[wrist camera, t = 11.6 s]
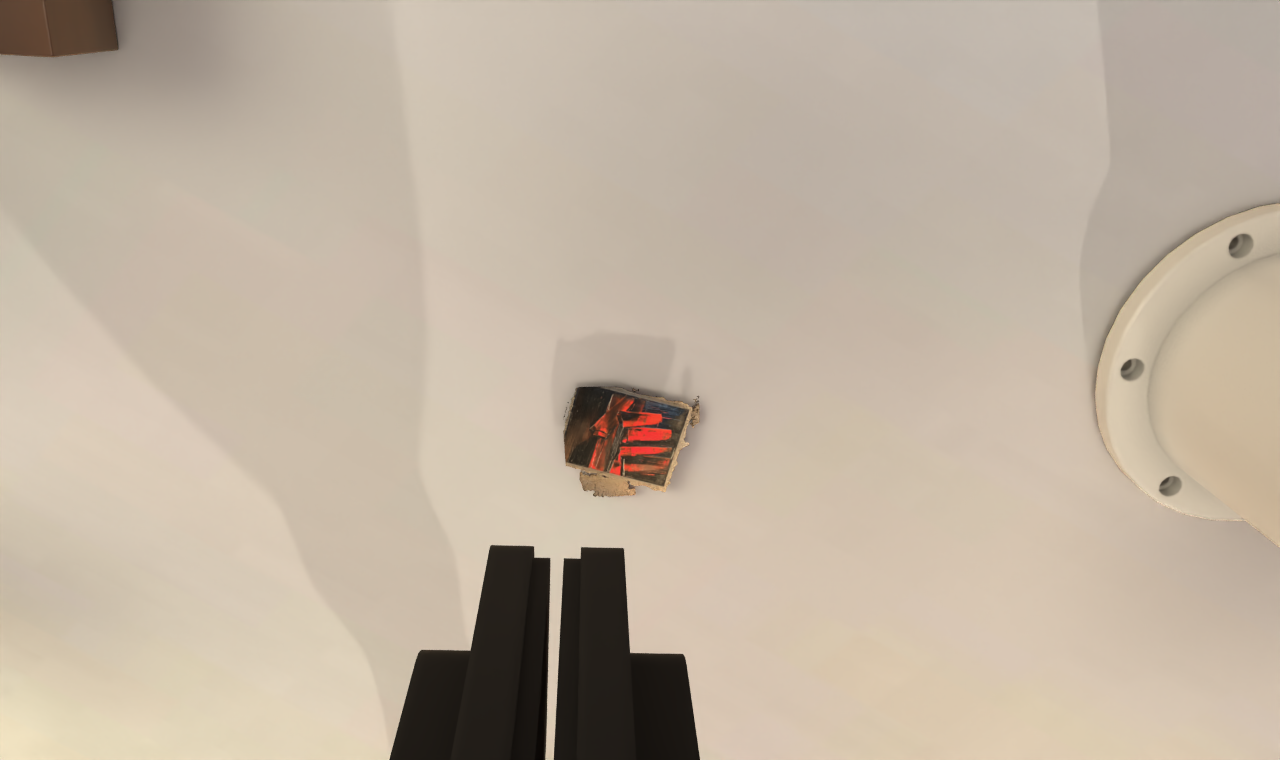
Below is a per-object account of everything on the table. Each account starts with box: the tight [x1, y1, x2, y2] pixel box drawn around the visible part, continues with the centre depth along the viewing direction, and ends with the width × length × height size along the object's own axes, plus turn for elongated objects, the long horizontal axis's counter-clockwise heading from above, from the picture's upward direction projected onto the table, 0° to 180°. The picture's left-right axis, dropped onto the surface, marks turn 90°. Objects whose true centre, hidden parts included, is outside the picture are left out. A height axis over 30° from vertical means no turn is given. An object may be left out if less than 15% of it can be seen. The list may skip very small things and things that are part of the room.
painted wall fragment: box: [563, 387, 699, 497], centre depth 36 cm, size 5×5×1 cm
